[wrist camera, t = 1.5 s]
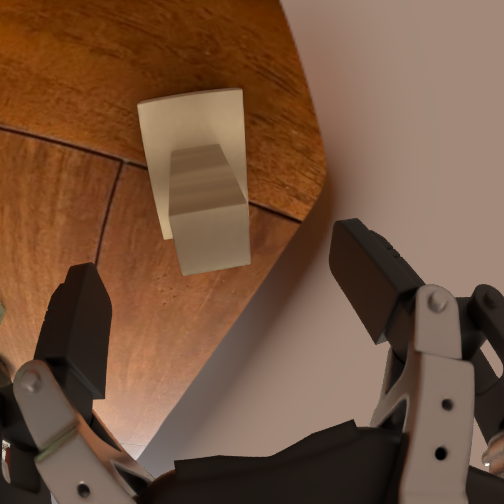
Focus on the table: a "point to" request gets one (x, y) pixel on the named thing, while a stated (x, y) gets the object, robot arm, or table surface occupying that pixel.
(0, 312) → the bin
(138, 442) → the table surface
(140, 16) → the table surface
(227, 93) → the base with upright post
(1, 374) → the seashell
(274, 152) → the table surface
